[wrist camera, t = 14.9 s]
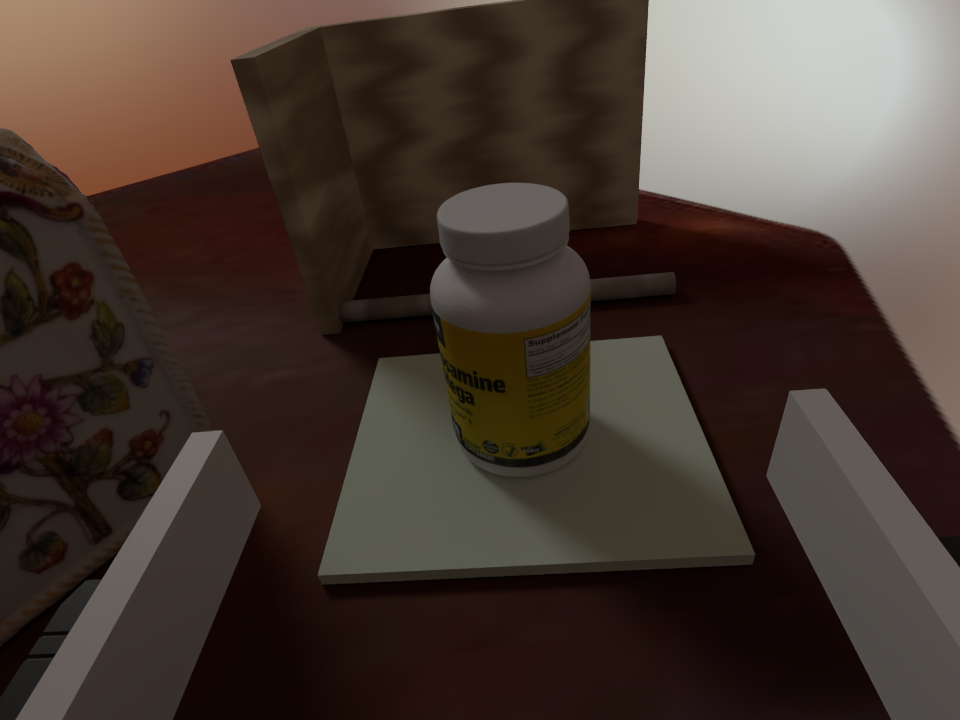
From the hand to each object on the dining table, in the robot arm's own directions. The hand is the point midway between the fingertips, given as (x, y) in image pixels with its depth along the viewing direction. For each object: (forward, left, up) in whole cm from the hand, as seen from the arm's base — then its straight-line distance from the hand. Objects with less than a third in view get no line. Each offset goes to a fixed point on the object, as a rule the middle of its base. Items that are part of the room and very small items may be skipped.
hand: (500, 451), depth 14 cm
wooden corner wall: (-1, +28, -9) cm, 29 cm away
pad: (0, +10, -9) cm, 13 cm away
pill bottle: (0, +10, -9) cm, 13 cm away
